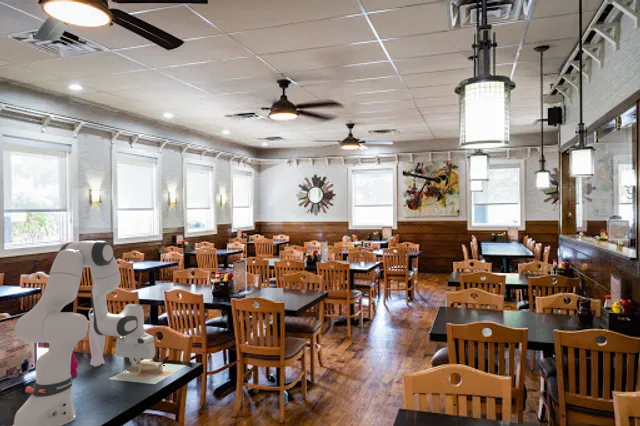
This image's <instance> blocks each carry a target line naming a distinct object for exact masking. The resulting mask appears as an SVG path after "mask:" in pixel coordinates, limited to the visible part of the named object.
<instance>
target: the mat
mask: <svg viewBox="0 0 640 426" xmlns="http://www.w3.org/2000/svg"><path fill="white" fill-rule="evenodd" d="M163 365H165V366H163V371H162V372H160V373H159V374H150V373H141V374H140V375H138V376H133V375H130V372H129V371H127V369H126V370H124V371H121V372H119V373H117V374H115V375H114V376H112V377H109V378H108V380H114V381H123V382H133V383H141V384H151V385H157V384H158V383H159V382H161V381H163V380H165V379H166V378H168V377H169V376H171V375H173V374H175V373H177V372H178V371H179V370H181V369H183V368H185V367H186V366H187V365H184V364H173V363H165V364H163ZM125 371H126V372H125Z"/></svg>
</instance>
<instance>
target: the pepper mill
mask: <svg viewBox="0 0 640 426" xmlns="http://www.w3.org/2000/svg"><path fill="white" fill-rule="evenodd" d="M75 349H76V346H75V347H74V349H73V351H72V355H71V365H70V375H71V376H72V378H73V377H75V376H77V375H78V370H77V369H78V367H79V362H78V359H77V358H76V356H75Z"/></svg>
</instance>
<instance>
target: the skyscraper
mask: <svg viewBox="0 0 640 426" xmlns="http://www.w3.org/2000/svg"><path fill="white" fill-rule="evenodd" d="M91 311H93V307H92V308H90V309H89V311H88V318H89V321H90V323H89V327H88V340H89V341H88V343H89V349H90V350H89V351H90V355H91V359H90V363H89V365H90V366H93V367H94V368H96V367H100V366H102V365H101V364H103V365H106V362H105V359H104V355H103V354H104V349H105V342H106V335H98V334H97V333H96V332H95V330H94V325H93V324H94V313H93V312H92V313H91Z"/></svg>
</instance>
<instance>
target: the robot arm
mask: <svg viewBox="0 0 640 426" xmlns="http://www.w3.org/2000/svg"><path fill="white" fill-rule="evenodd" d="M114 251H115V250H114V248H113V246H112V245H111V243H110V242H108V241H106V240H80V241H75V242H73V241H70V242H67V243H64V244H62V246H61V247H60V249H59V250H58V254H56V256H55V259H54V261H53V262H52V265H51V267H50V269H49V270H50V271H49V274H48V279H47V282H46V285H45V288H44V290H43V294H42V295H41V297H40V299H39V301H38V302H37V303H36V304H35V305H34V306H33V308H32V309H29V311H28V312H26V313H25V314H23V315H22V316H21V317H19V319H18V320H17V322H16V324H15V327H14V328H15V329H14V332H15V335H16V337H17V339H18V340H19V341H23V342H28V343H32V344H33V343H35V344H37V343H38V344H39V343H40V344H42V343H44V344H45V343H48V345H49V346H48V351H46V352H45V353H43V354H42V355H40V356H39V357H38V358H37V360H36V362H35V382H34V385H33V386H26V388H25V390H24V391H25V393H28V394H30V393H31V395H30V396H29V398H27V400H26V401H25V403H23V404H22V406H21V407H20V408H19V409H18V410H17V411H16V413H15V415H14V418H13V419H14V421H13V425H12V426H64V425H67V424H68V423H71V422H73V421H75V420H76V419H77V410H76V407H75V404H74V399H73V393H72V387H73V377H72V376H71V375H70V365H71V355H72V351H73V349H74V347H75V348H76V345H77V344H78V343H79V342H80V341H81V340H82V339H84V338H85V337H86V335H87V333H88V332H89V328H90V323H89V321H88V318H87V317H86V315H84V314H81V313H76V312H71V311H68V312H67V311H65V312H63V311H62V309H63V308H64V307H65V306H66V305H69V304H70V303H73V302H74V300H76V299H77V296H78V293H79V289H80V286H81V285H80V284H81V281H82V275H83V268H89V269H90V274H91V277H92V283H93V284H92V285H91V288H90V298H91V305H92V308H93V309H92V313H94V324H93V325H94V330H95V332H96V333H97V334H98V335H105V336H112V337H113V336H114V337H117V338H116V340H115V342H116V343H115V349H114V350H115V351H114V354H115V356H116V357H121V358H129V359H128V360H129V362H130V363H131V366H132V365H134V364H136V363H138V362H140V361H142V360H144V359H154V357H155V355H156V345H155V343H154V341H155V336H154V335H152V334H149V333H147V332H146V331H145V328H144V327H145V326H144V323H145V314H144V313H145V312H144V308H143V305H142V304H140V303H139V304H138V303H129V304H126V305H125V306H124V309H123V310H122V311H121V312H120V313H117V314H116V313H111V312H110V311H109V310H108V304H107V295H108V294H109V293H112V292H113V291H115V290H116V289H117V288H118V287H119V286H120V284H121V281H122V278H121V277H122V276H121V272H120V269H119V265H118V263H117V262H118V261H117V260H116V257H115V253H114ZM74 350H75V349H74Z"/></svg>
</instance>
